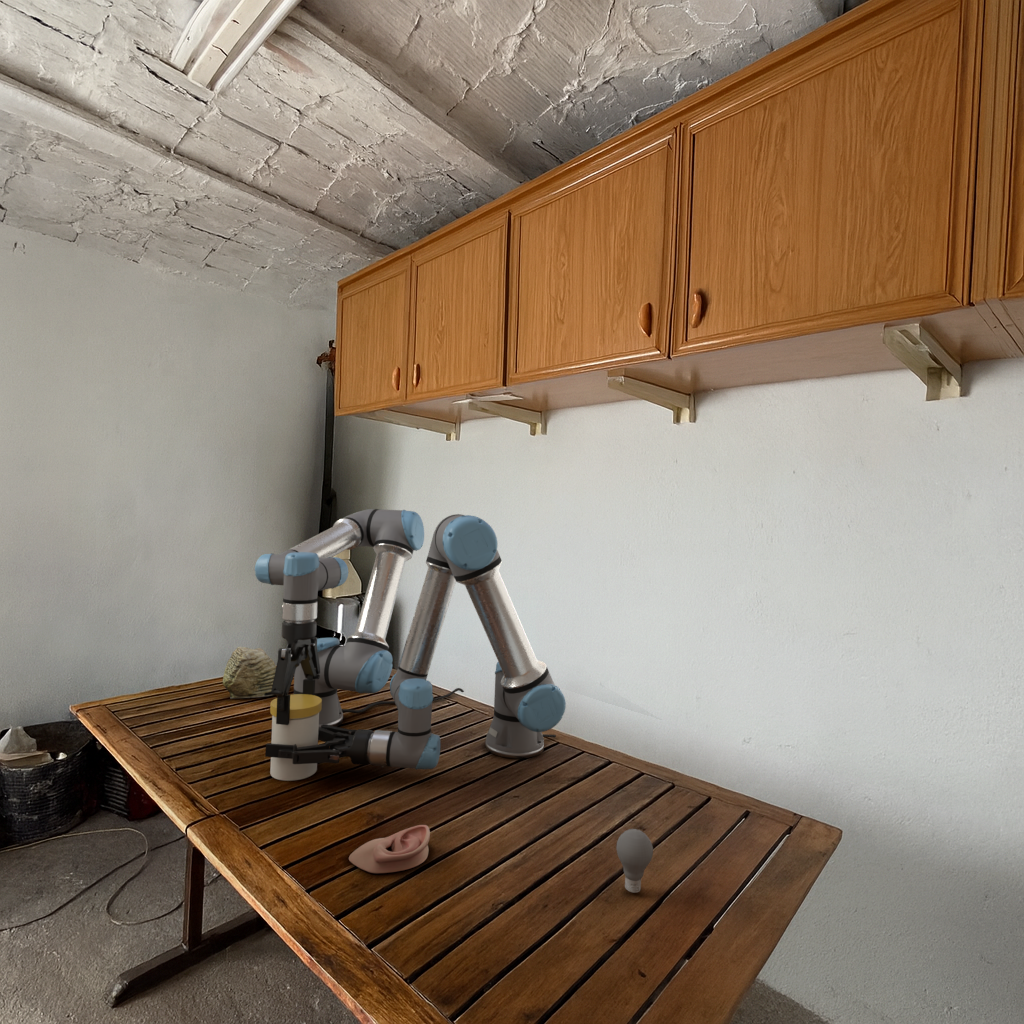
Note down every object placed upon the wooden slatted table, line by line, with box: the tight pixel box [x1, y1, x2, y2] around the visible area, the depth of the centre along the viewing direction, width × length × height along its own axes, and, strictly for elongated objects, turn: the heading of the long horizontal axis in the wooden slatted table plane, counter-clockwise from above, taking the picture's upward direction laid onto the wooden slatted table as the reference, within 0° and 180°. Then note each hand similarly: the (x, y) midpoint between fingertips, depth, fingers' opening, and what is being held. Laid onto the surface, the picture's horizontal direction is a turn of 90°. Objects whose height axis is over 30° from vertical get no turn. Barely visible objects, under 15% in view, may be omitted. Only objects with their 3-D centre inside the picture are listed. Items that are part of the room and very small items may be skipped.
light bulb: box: [615, 828, 654, 894], centre depth 106 cm, size 6×6×10 cm
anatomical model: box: [348, 824, 431, 874], centre depth 113 cm, size 13×4×12 cm
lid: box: [269, 693, 322, 719], centre depth 145 cm, size 11×11×2 cm
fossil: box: [222, 646, 277, 699], centre depth 198 cm, size 9×18×15 cm, turn 132°
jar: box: [269, 713, 319, 782], centre depth 145 cm, size 10×10×15 cm
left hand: (295, 715), depth 145 cm, fingers closed on lid, 11 cm apart
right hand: (277, 740), depth 146 cm, fingers closed on jar, 10 cm apart
